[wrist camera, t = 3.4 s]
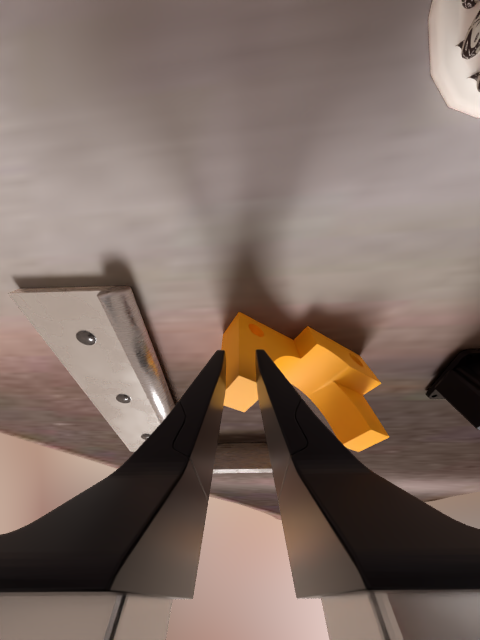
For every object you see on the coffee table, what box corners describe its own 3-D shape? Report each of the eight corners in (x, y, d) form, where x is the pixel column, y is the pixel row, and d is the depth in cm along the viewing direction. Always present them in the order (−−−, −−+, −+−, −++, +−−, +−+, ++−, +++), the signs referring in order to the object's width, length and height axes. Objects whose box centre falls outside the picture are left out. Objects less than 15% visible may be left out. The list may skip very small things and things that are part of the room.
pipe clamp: (358, 354, 17) (414, 425, 12) (324, 381, 19) (358, 451, 14) (251, 293, 14) (258, 352, 8) (223, 333, 16) (215, 402, 10)
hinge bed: (304, 280, 13) (320, 299, 10) (276, 446, 27) (280, 472, 24) (19, 288, 13) (-33, 309, 11) (136, 449, 27) (125, 474, 24)
